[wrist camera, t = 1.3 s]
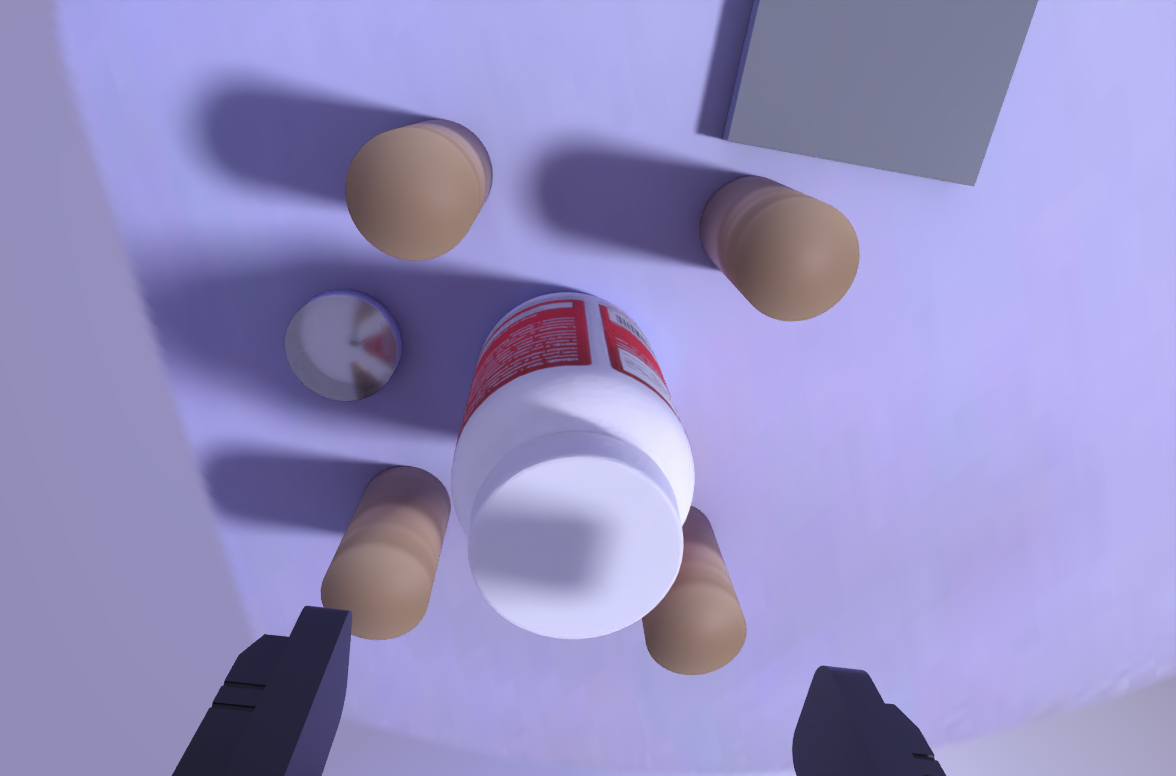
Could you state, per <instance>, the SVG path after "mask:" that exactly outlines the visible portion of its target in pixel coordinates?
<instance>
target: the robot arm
mask: <svg viewBox="0 0 1176 776" xmlns="http://www.w3.org/2000/svg"><path fill="white" fill-rule="evenodd" d="M351 628H352V612H351V611H349V610H340V609H331V608H322V607H313V606H305V607H304V608H303V610H302V612H301V614H300V616H299V618H298V620H297V622H296V624H295V626H294V628H293V630H292V632H291V634H290V637H285V636H276V635H266V634H264V635H263V636H262V637H261V638H259V639H258V640H257V641H256V642H254V643H253V644H252V645H251V646H250V647H248V648H247V649H246V650H245V651H243V652H242V653H241V654H240V655H239V656H238V657H237V659H236V661H235V663H234V665H233V666H232V669H231V670H230V672H229V674H228V676H227V677H226V679H225V681H224V685H223V686H221V688H220V690H219V692H218V694H217V695H216V697H215V699H214V701H213V704H212V707H211V708H209V710H208V711H207V713H206V715H205V717H204V719H203V720H202V722H201V724H200V726H199V728H198V730H197V731H196V733H195V735H194V737H193V738H192V740H191V742H190V744H189V746H188V747H187V749H186V751H185V753H184V755H183V756H182V758H181V760H180V762H179V764H178V766H177V767H176V769H175V771H174V773H173V774H172V776H322V773H323V770H324V767H325V764H326V761H327V758H328V755H329V752H330V749H331V746H332V743H333V740H334V737H335V734H336V731H337V728H338V725H339V722H340V718H341V714H342V710H343V705H344V700H345V695H346V688H347V677H348V665H349V652H350V640H351ZM792 754H793V763H794V768H795V772H796V775H797V776H946V775H945V773H944V771H943V769H942V768H941V766H940V764H939V762H938V761H936V760H935V759H934V754H933V752H932V750H931V749H930V747H929V745H928V743H927V742H926V740H925V738H924V736H923V735H922V733H921V731H920V729H919V728H918V727H917V726H916V725H915V724H914V723H913V722H912V721H911V720H910V719H909V718H908V717H907V716H906V715H905V714H904V713H903V712H902V711H901V710H900V709H899V708H897V707H896V706H895V705H894V704H885V703H884V701H883V699H882V698H881V696H880V694H879V692H878V690H877V688H876V687H875V685H874V683H873V681H872V679H871V677H870V676H869V674H868V673H867V672H865V671H863V670H857V669H848V668H839V667H830V666H820V667H819V668H818V669H817V670H816V672H815V674H814V677H813V679H812V682H811V685H810V688H809V691H808V694H807V697H806V700H805V703H804V706H803V709H802V712H801V714H800V717H799V720H798V723H797V726H796V729H795V732H794V737H793V746H792Z"/></svg>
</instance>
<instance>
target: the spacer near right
mask: <svg viewBox="0 0 1176 776" xmlns="http://www.w3.org/2000/svg"><path fill="white" fill-rule="evenodd" d="M700 238H701V242H702V245H703V248H704V250H705V252H706V254H707V255H708V257H709V258H710V259H711V260H712V262H713V263H714V264H715V265H716V266H717V267H718V268H719V269H720V270H721V271H722V273H723V274H724V275H725V276H726V277H727V278H728V279H729V280H730V281H731V282H732V283H733V285H734V286H735V287H736V288H737V289H738V290H739V291H740V292H741V293H742V294H743V296H744V297H745V298H746V299H747V300H748V301H749V302H750V303H751V304H752V305H753V306H754V307H755V308H756V309H757V310H759V311H760V312H761V313H763V314H765V315H767V316H769V317H771V318H774V319H778V320H782V321H801V320H806V319H810V318H813V317H816V316H818V315H820V314H822V313H824V312H826V311H827V310H829V309H830V308H832V307H833V306H834V305H835V304H836V303H838V302H839V301H840V300H841V298H842V297H843V296H844V295H845V294H846V292H847V291H848V289H849V288H850V286H851V284H852V282H853V280H854V278H855V275H856V273H857V269H858V264H859V244H858V239H857V236H856V233H855V231H854V228H853V226H852V225H851V223H850V222H849V220H848V219H847V218H846V217H845V216H844V215H843V214H842V213H841V212H840V211H839V210H837V209H836V208H834V207H833V206H831V205H829V204H826V203H824V202H822V201H819V200H817V199H815V198H812V197H810V196H808V195H805V194H803V193H801V192H798V191H796V190H794V189H791V188H789V187H787V186H784V185H782V184H780V183H777V182H775V181H773V180H770V179H768V178H764V177H759V176H746V177H741V178H737V179H734V180H732V181H730V182H728V183H726V184H725V185H723V186H722V187H721V188H719V189H718V190H717V191H716V192H715V193H714V194H713V195H712V197H711V198H710V199H709V201H708V202H707V204H706V206H705V208H704V211H703V213H702V217H701V222H700Z"/></svg>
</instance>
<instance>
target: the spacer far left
mask: <svg viewBox="0 0 1176 776" xmlns="http://www.w3.org/2000/svg"><path fill="white" fill-rule="evenodd" d="M450 510H451V504H450V498H449V495H448V492H447V490H446V488H445V487H444V485H443V484H442V483H441V482H440V481H439V480H438V479H437V478H436V477H435V476H433V475H432V474H430V473H429V472H427V471H425V470H422V469H419V468H416V467H410V466H398V467H393V468H389V469H387V470H384V471H382V472H380V473H379V474H377V475H376V476H375V477H374V478H373V479H372V480H371V481H370V482H369V484H368V485H367V487H366V489H365V491H364V493H363V495H362V498H361V500H360V502H359V504H358V506H357V508H356V510H355V513H354V515H353V517H352V519H351V521H350V523H349V525H348V528H347V530H346V532H345V534H344V536H343V538H342V540H341V543H340V545H339V547H338V549H337V551H336V553H335V555H334V558H333V560H332V562H331V564H330V566H329V568H328V570H327V573H326V575H325V577H324V579H323V582H322V586H321V600H322V604H323V607H324V608H331V609H340V610H349V611H351V612H352V628H351V634H352V635H354V636H357V637H360V638H364V639H370V640H386V639H392V638H396V637H399V636H401V635H404V634H406V633H407V632H409V631H411V630H412V629H413V628H415V627H416V626H417V625H418V624H419V622H420V621H421V620H422V618H423V617H424V615H425V613H426V610H427V607H428V602H429V598H430V594H431V590H432V586H433V582H434V578H435V573H436V569H437V565H438V561H439V557H440V553H441V549H442V544H443V540H444V536H445V532H446V528H447V524H448V520H449V515H450Z"/></svg>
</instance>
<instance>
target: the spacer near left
mask: <svg viewBox="0 0 1176 776" xmlns="http://www.w3.org/2000/svg"><path fill="white" fill-rule="evenodd" d="M492 177H493V174H492V165H491V161H490V158H489V155H488V152H487V150H486V148H485V147H484V145H483V144H482V142H481V141H480V140H479V138H478V137H477V136H476V135H475V134H474V133H473V132H471V131H470V130H469V129H467V128H466V127H464V126H462V125H460V124H458V123H456V122H453V121H449V120H442V119H433V120H427V121H423V122H419V123H415V124H412V125H408V126H404V127H400V128H397V129H393V130H389V131H386V132H383V133H381V134H379V135H377V136H375V137H373V138H372V139H370V140H369V141H368V142H367V143H365V144H364V145H363V146H362V147H361V148H360V150H359V151H358V152H357V153H356V155H355V157H354V158H353V160H352V162H351V164H350V167H349V169H348V173H347V177H346V185H345V194H346V202H347V206H348V210H349V213H350V215H351V218H352V220H353V222H354V224H355V225H356V227H357V229H358V230H359V231H360V233H361V234H362V235H363V236H364V237H365V238H366V240H367V241H368V242H370V243H371V244H372V245H373V246H374V247H376V248H377V249H379V250H380V251H382V252H384V253H386V254H388V255H390V256H393V257H396V258H399V259H404V260H412V261H420V260H428V259H432V258H435V257H438V256H441V255H443V254H445V253H447V252H448V251H450V250H451V249H453V248H454V247H455V246H456V245H457V244H459V242H460V241H461V240H462V239H463V238H464V236H465V235H466V233H467V232H468V230H469V229H470V227H471V225H472V224H473V222H474V220H475V219H476V217H477V215H478V213H479V212H480V210H481V208H482V207H483V205H484V203H485V202H486V200H487V198H488V196H489V193H490V190H491V185H492Z"/></svg>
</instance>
